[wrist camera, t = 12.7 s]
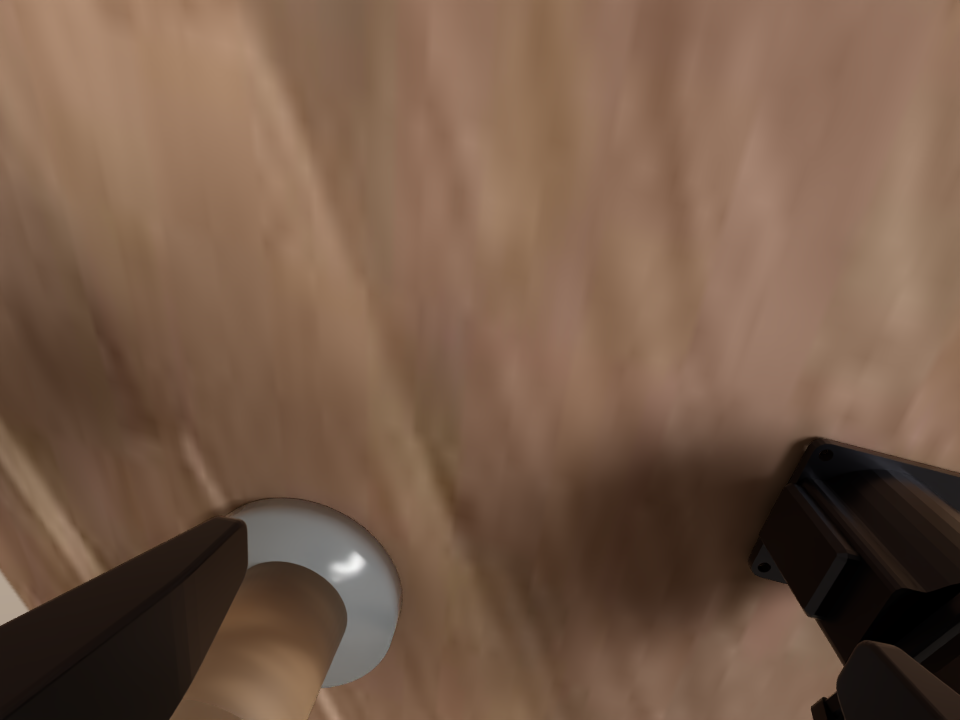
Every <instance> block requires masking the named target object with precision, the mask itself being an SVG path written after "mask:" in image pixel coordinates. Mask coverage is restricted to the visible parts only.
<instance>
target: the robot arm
mask: <svg viewBox="0 0 960 720" xmlns="http://www.w3.org/2000/svg"><path fill="white" fill-rule="evenodd" d="M823 450H828V451H827V453H826V454H825V455H822V456H819V453H820V452H821V451H823ZM759 536H760V538H759V539H758V541H757V543H756V545H755V547H754V549H753V551H752V553H751V554H750V556H749V559H748V564H749V566H750V568H751V570H752V572H753V573H754V574H755V575H757V576H759V577H762V578H766V579H770V580H774V581H777V582H781V583H785V584H788V586H789V587H790V589H791V591H792V592H793V594H794V596H795V597H796V599H797V601H798V602H799V604H800V606H801V607H802V609H803V611H804V613H805V614H806V615H807V616H808V617H811V618H815V620H816V621H817V623H818V625H819V626H820V628H821V630H822V631H823V633H824V635H825V636H826V638H827V640H828V641H829V643H830V644H831V646H832V648H833V649H834V651H835V653H836V654H837V656H838V658H839V659H840V661H841V663H842V664H843V666H844V667H843V669H842V671H841V672H840V674H839V676H838V678H837V684H836V690H837V691H836V692H835V693H834V694H832V695H831V696H830V697H829V698H825V697H822V698H821V699H820V700H819V701H817V702H816V703H815V704H814V705H813V706H811V712H812V716H813V720H960V473H956V472H952V471H948V470H944V469H941V468H937V467H933V466H929V465H925V464H921V463H917V462H914V461H910V460H906V459H902V458H898V457H894V456H890V455H887V454H883V453H879V452H875V451H871V450H867V449H863V448H860V447H856V446H852V445H848V444H844V443H840V442H836V441H833V440H829V439H818V440H815V441H813V442H812V443H811V444H810V445H809V446H808V448H807V449H806V451H805V453H804V455H803V457H802V459H801V461H800V463H799V464H798V466H797V468H796V470H795V472H794V474H793V476H792V478H791V479H790V481H789V483H788V485H786V486H785V487H784V488H783V490H782V492H781V494H780V496H779V498H778V500H777V502H776V504H775V505H774V507H773V509H772V511H771V513H770V515H769V517H768V519H767V520H766V522H765V524H764V526H763V528H762V530H761V532H760V534H759ZM761 563H765V564H764V565H762V566H759V564H761ZM247 568H248V530H247V525H246V523H245V521H243V520H241V519H236V518H231V517H225V516H216V517H214V518H211V519H209V520H207V521H205V522H203V523H201V524H199V525H198V526H196V527H194V528H192V529H190V530H188V531H186V532H184V533H182V534H180V535H178V536H176V537H174V538H172V539H170V540H168V541H166V542H164V543H162V544H160V545H158V546H156V547H154V548H152V549H150V550H148V551H146V552H144V553H143V554H141V555H139V556H137V557H135V558H133V559H131V560H129V561H127V562H125V563H123V564H121V565H119V566H117V567H115V568H113V569H111V570H109V571H107V572H105V573H103V574H101V575H99V576H97V577H95V578H93V579H91V580H89V581H88V582H86V583H84V584H82V585H80V586H78V587H76V588H74V589H72V590H70V591H68V592H66V593H64V594H62V595H60V596H58V597H56V598H54V599H52V600H50V601H48V602H46V603H44V604H42V605H40V606H38V607H36V608H34V609H32V610H31V611H29V612H27V613H25V614H23V615H21V616H19V617H17V618H15V619H13V620H11V621H9V622H7V623H5V624H3V625H1V626H0V720H170V718H171V717H172V715H173V713H174V712H175V710H176V709H177V707H178V705H179V704H180V702H181V700H182V699H183V697H184V695H185V694H186V692H187V690H188V689H189V687H190V685H191V684H192V682H193V680H194V678H195V676H196V674H197V672H198V670H199V668H200V667H201V665H202V663H203V661H204V659H205V657H206V655H207V653H208V651H209V649H210V647H211V645H212V643H213V640H214V638H215V636H216V634H217V632H218V630H219V628H220V626H221V624H222V622H223V620H224V618H225V616H226V614H227V612H228V610H229V608H230V606H231V604H232V602H233V600H234V598H235V596H236V594H237V592H238V590H239V588H240V586H241V584H242V582H243V580H244V578H245V575H246V572H247Z"/></svg>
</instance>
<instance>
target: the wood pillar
mask: <svg viewBox="0 0 960 720" xmlns="http://www.w3.org/2000/svg"><path fill="white" fill-rule="evenodd" d="M346 627H347V611H346V607H345V604H344V602H343V600H342V598H341V596H340V595H339V593H338V592H337V590H336V589H335V588H334V587H333V586H332V585H331V584H330V583H329V582H328V581H327V580H326V579H325V578H323V577H322V576H321V575H319V574H318V573H316V572H314V571H312V570H311V569H308V568H306V567H304V566H301V565H298V564H294V563H290V562H282V561H271V562H264V563H260V564H257V565H254V566H252V567H250V568H249V569H247V572H246V575H245V578H244V580H243V582H242V584H241V586H240V588H239V590H238V592H237V594H236V596H235V598H234V600H233V602H232V604H231V606H230V608H229V610H228V612H227V614H226V616H225V618H224V620H223V622H222V624H221V626H220V628H219V630H218V632H217V634H216V636H215V638H214V640H213V643H212V645H211V647H210V649H209V651H208V653H207V655H206V657H205V659H204V661H203V663H202V665H201V667H200V668H199V670H198V672H197V674H196V676H195V678H194V680H193V682H192V684H191V685H190V687H189V689H188V690H187V692H186V694H185V695H184V697H183V699H182V700H181V702H180V704H179V705H178V707H177V709H176V710H175V712H174V713H173V715H172V717H171V718H170V720H307V719H308V717H309V714H310V712H311V710H312V707H313V705H314V703H315V700H316V698H317V696H318V693H319V691H320V689H321V686H322V684H323V682H324V679H325V677H326V675H327V672H328V670H329V668H330V665H331V663H332V661H333V658H334V656H335V654H336V652H337V649H338V647H339V645H340V642H341V640H342V638H343V635H344V633H345V630H346Z"/></svg>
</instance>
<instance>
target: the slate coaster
mask: <svg viewBox="0 0 960 720" xmlns="http://www.w3.org/2000/svg"><path fill="white" fill-rule="evenodd" d="M225 517H231V518H236V519H241V520H243V521H245V523H246V525H247V530H248V568H247V569H249V568H250V567H252V566H254V565H257V564H260V563H264V562H271V561H282V562H290V563H294V564H298V565H301V566H304V567H306V568H308V569H311V570H312V571H314V572H316V573H318V574H319V575H321V576H322V577H323V578H325V579H326V580H327V581H328V582H329V583H330V584H331V585H332V586H333V587H334V588H335V589H336V590H337V592H338V593H339V595H340V596H341V598H342V600H343V602H344V604H345V607H346V611H347V627H346V630H345V633H344V635H343V638H342V640H341V642H340V645H339V647H338V649H337V652H336V654H335V656H334V658H333V661H332V663H331V665H330V668H329V670H328V672H327V675H326V677H325V679H324V682H323V684H322V686H321V688H329V687H334V686H340V685H343V684H346V683H350V682H352V681H355V680H357V679H359V678H361V677H363V676H364V675H366V674H367V673H369V672H370V671H371V670H373V669H374V668H375V667H376V666H377V665H378V664H379V663H380V661H381V660H382V659H383V658H384V656H385V655H386V653H387V651H388V649H389V647H390V644H391V641H392V638H393V635H394V632H395V628H396V625H397V622H398V619H399V616H400V613H401V607H402V588H401V583H400V579H399V576H398V573H397V570H396V568H395V566H394V564H393V562H392V560H391V558H390V556H389V555H388V554H387V552H386V551H385V549H384V548H383V546H382V545H381V544H380V543H379V542H378V541H377V540H376V538H375V537H374V536H372V535H371V534H370V533H369V532H368V531H367V530H366V529H365V528H363V527H362V526H361V525H359V524H358V523H357V522H355V521H354V520H352V519H351V518H349V517H347V516H345V515H344V514H342V513H340V512H338V511H336V510H333V509H331V508H329V507H327V506H323V505H320V504H317V503H314V502H310V501H305V500H300V499H291V498H271V499H264V500H258V501H255V502H251V503H248V504H246V505H243V506H241V507H239V508H237V509H235V510H234V511H232V512H231V513H229V514H228V515H227V516H225Z"/></svg>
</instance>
